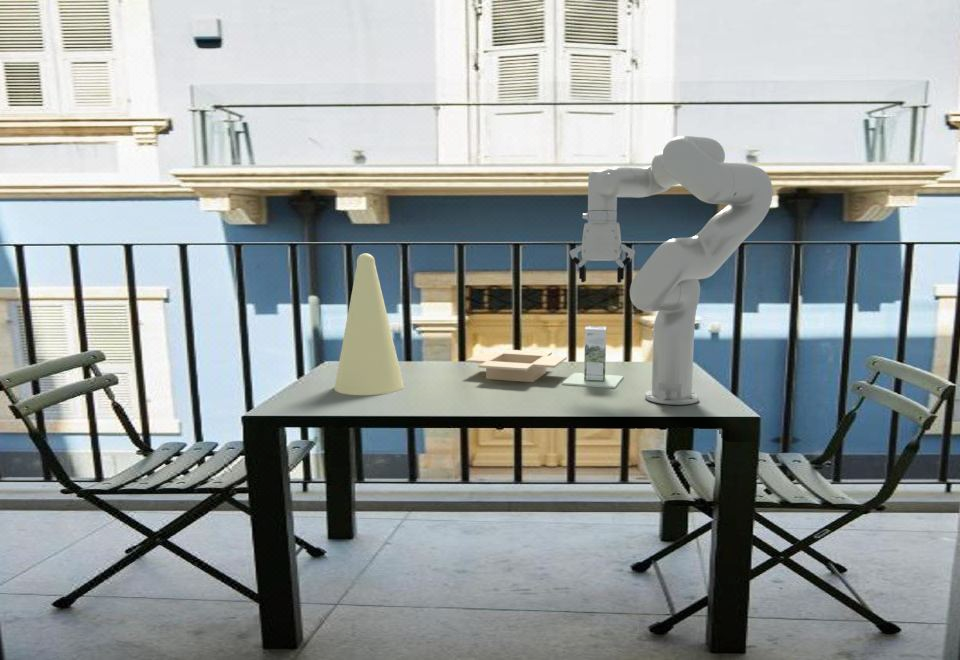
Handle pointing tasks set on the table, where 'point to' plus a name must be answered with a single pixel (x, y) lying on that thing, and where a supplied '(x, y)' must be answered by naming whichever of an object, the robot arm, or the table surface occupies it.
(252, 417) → the table surface
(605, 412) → the table surface
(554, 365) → the kraft carton
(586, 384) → the sage rubber mat
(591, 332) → the syrup box
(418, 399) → the table surface
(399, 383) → the cone light
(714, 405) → the table surface
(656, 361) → the robot arm
